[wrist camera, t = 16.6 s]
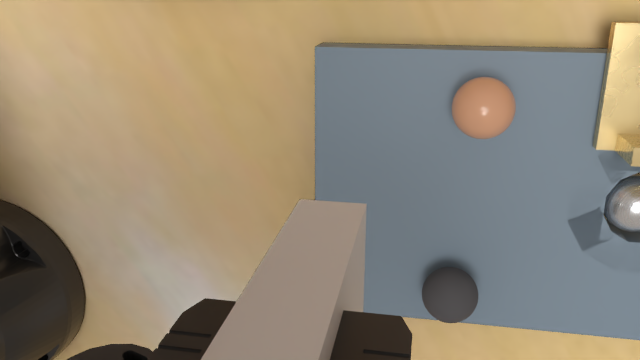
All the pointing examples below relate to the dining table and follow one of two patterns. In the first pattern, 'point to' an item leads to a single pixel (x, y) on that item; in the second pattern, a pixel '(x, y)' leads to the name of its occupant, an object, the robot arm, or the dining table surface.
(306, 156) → the dining table surface
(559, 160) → the grey flat board
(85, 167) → the dining table surface
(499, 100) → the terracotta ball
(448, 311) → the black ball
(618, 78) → the brass cover
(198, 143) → the dining table surface
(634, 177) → the steel ball
